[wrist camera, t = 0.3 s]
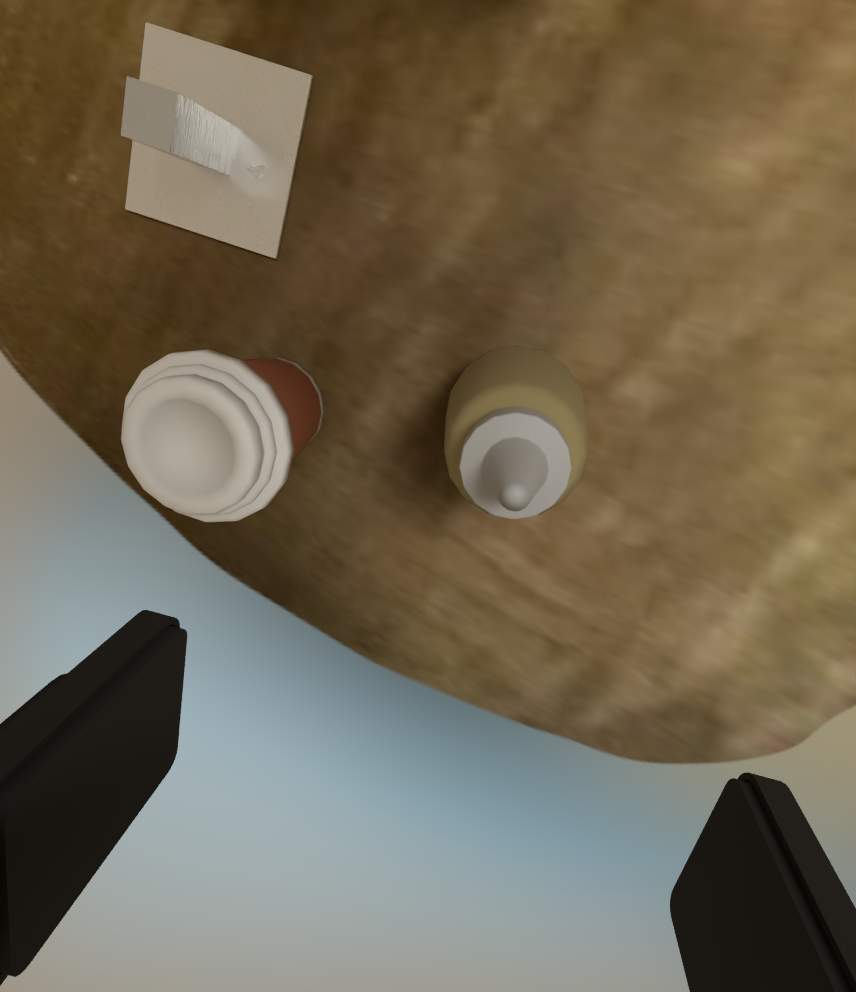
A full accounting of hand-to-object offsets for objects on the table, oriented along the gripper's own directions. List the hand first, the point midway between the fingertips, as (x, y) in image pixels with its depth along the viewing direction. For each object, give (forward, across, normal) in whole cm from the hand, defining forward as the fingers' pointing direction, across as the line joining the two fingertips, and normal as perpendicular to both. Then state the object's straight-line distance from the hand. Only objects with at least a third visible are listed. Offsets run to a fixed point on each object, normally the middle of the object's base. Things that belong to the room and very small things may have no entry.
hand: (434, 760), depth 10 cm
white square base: (+30, +20, -12) cm, 38 cm away
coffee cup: (+31, +14, +3) cm, 34 cm away
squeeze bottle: (+31, -1, -1) cm, 31 cm away
